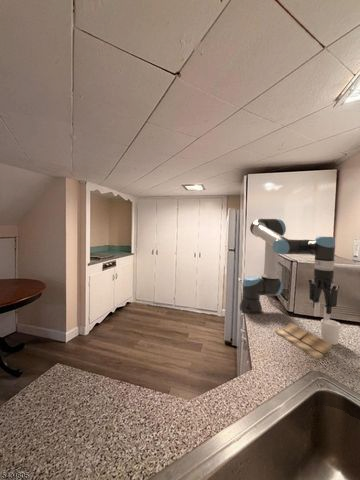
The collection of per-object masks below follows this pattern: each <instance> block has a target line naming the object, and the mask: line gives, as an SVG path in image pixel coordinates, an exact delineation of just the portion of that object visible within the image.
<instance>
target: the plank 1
mask: <svg viewBox="0 0 360 480" xmlns="http://www.w3.org/2000/svg"><path fill="white" fill-rule="evenodd" d="M282 330H283V331H285V332H286V333H288V334H290V335H291V336H293V337H295V338H296V339H298V340H300V341H301V340H302V339H303V338H304V337H305V336H306V335H307V334H308V333H309V331H308V330H305V329H304V328H303V327H300V326H298V325H296V324H294V323H292V322H289V323H288V324H286V326H285V327H283V328H282ZM301 342H302V341H301Z"/></svg>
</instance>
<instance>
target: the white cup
mask: <svg viewBox="0 0 360 480" xmlns="http://www.w3.org/2000/svg"><path fill="white" fill-rule="evenodd" d="M340 331H341V323H340V322H339V321H336V320H334V319H333V320H332V319H329V320H326V321H325V320H324V318H322V319H321V320H320V333H321V339H322V340H324V341H326V342H328V343H330V344H331V345H332V346H336V345H338V344H339V340H340V339H339V338H340Z"/></svg>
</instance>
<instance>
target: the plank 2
mask: <svg viewBox="0 0 360 480" xmlns="http://www.w3.org/2000/svg"><path fill="white" fill-rule="evenodd" d="M301 342H303V343H304V344H306V345H308V346H309V347H311V348H313V349H314V350H316V351H318V352H319V353H321V354H323V356H324V354H326V353H327V352H328V351H329V350H330V349H331V348H332V347H333V345H331V344H330V343H328V342H326V341H324V340H322V338H321V337H319V336H316V335H315V334H313V333H311V332H308V334H307V335H306V336H305V337H304V338H303V339H302V340H301Z"/></svg>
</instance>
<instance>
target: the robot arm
mask: <svg viewBox="0 0 360 480" xmlns="http://www.w3.org/2000/svg"><path fill="white" fill-rule="evenodd" d="M286 228H287V227H286V224H285V222H284V221H283V220H282V219H280V218H279V219H278V218H257V219H254V220H253V221H252V222H251V224H250V226H249V231H250V233H251V234H252V235H253V236H255V237H257V238H260V239H262V240H263V241H264V242H265V243H264V244H265V246H264V268H263V269H264V270H263V274H262V275H261V277H260V276H256V275H250V276H245V277H244V278H243V280H242V285H241V286H242V292H241V295H242V298H241V300H240V303H239V310H240V311H241V312H243V313H246V314H253V315H257V314H261V313H262V312H263V308H262V304H261V301H260V297H261V296H271V297H272V296H279V295H280V294H281V293H282V292H283V290H284V285H283V281H282V280H281V278H280V276H279V275H278V269H279V268H278V267H279V266H278V265H279V262H278V261H279V255H312V256H314V269H313V275H314V278H313V279H309V280H308V284H309V300H311V301H312V303H313V304H312V305H313V306H312V308H313V317H320V315H321V313H320V312H321V302H320V297H321V293H322V292H323V295H324V302H325V305H324V306H323V319H324V320H325V321H326V320H329V319H330V316H331V314H332V308H335V307H337V304H338V292H339V289H340V285H337V284H334V281H333V280H334V269H335V250H336V239H335V237H333V236H316V237H315V240H314V239H288V238H287V237H284V235H285V234H286V233H287V232H286ZM330 320H331V319H330Z"/></svg>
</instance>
